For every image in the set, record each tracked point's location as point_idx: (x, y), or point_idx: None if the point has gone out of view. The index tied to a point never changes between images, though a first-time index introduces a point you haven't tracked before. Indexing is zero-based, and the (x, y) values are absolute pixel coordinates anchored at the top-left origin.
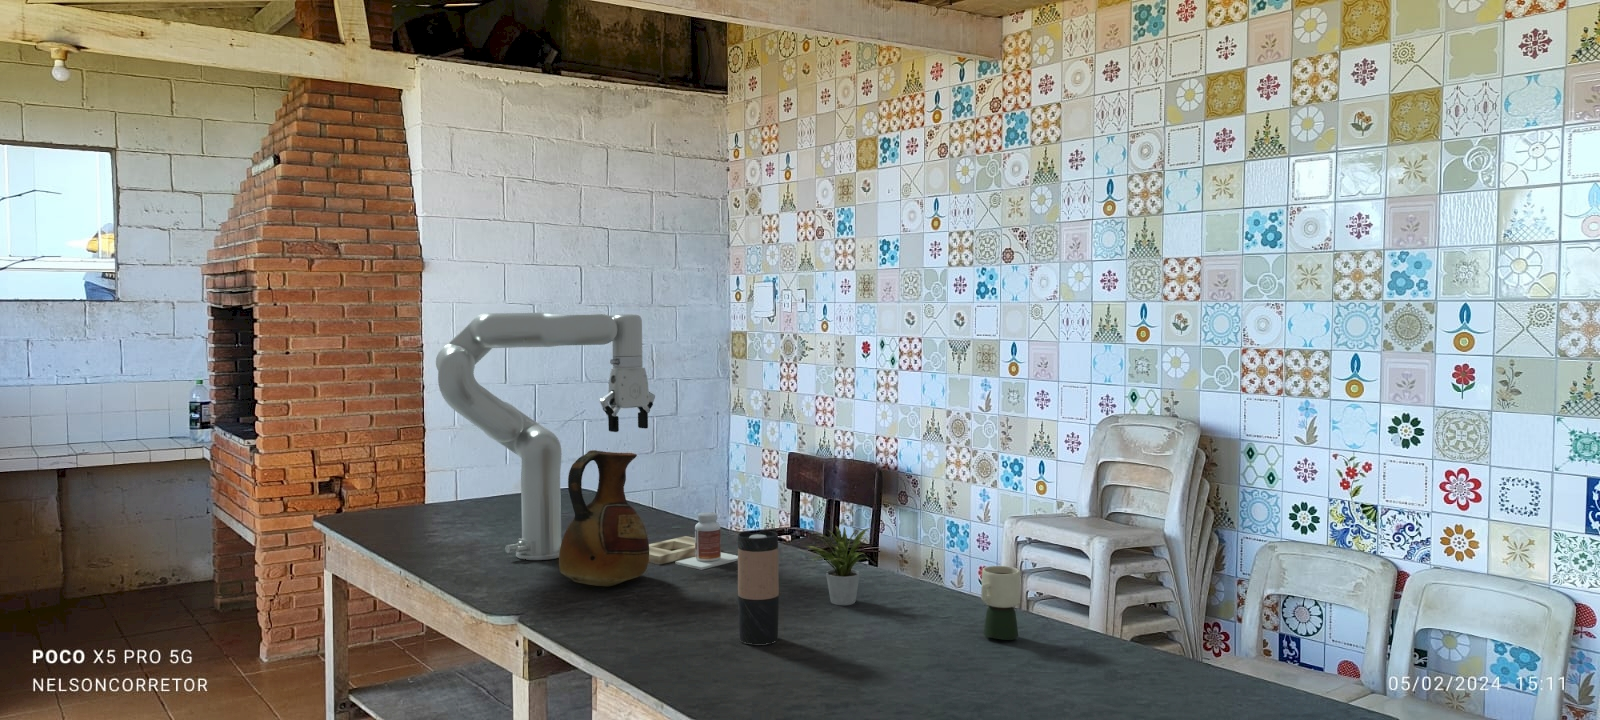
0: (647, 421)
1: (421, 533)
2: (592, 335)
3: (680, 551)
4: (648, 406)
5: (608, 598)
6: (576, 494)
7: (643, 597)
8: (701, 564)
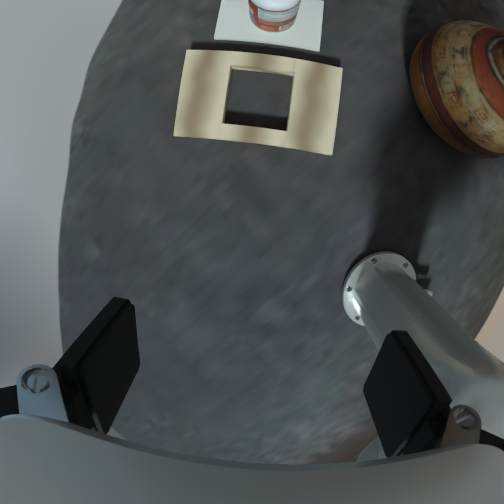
0: (97, 320)
1: (328, 455)
2: None
3: (288, 57)
4: (10, 410)
5: None
6: None
7: (461, 20)
8: (309, 8)
